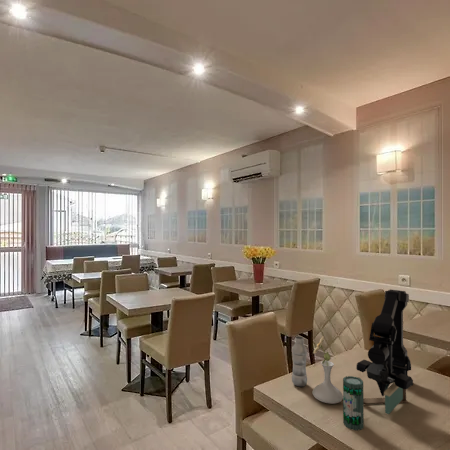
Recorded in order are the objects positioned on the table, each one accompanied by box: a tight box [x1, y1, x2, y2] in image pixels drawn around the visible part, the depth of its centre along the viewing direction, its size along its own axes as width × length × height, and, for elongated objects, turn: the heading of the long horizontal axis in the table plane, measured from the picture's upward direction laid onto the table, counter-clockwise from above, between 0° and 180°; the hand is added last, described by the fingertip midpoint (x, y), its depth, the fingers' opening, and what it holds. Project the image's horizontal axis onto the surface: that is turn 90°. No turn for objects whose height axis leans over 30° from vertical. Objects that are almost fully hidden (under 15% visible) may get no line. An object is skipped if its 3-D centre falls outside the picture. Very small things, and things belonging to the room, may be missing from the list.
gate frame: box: [356, 376, 409, 406], centre depth 122 cm, size 19×3×9 cm, turn 94°
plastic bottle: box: [291, 335, 308, 388], centre depth 135 cm, size 6×7×20 cm
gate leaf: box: [384, 383, 403, 415], centre depth 116 cm, size 15×2×7 cm, turn 133°
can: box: [342, 375, 365, 431], centre depth 108 cm, size 6×6×15 cm
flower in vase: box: [311, 335, 343, 404], centre depth 124 cm, size 13×11×25 cm
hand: (383, 395), depth 119 cm, fingers closed
